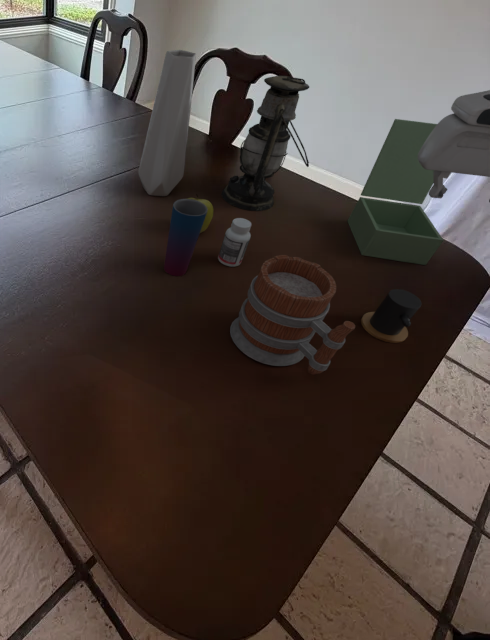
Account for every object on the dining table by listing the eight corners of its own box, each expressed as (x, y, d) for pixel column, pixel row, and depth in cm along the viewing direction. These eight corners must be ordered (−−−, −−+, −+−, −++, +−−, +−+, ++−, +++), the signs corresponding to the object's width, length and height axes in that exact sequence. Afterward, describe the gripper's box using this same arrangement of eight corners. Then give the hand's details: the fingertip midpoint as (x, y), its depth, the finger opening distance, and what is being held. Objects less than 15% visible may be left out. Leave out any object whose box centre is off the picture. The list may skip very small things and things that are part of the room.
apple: (206, 240, 104) (204, 198, 98) (175, 238, 109) (172, 198, 103) (218, 226, 109) (217, 186, 103) (188, 225, 113) (185, 186, 108)
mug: (271, 308, 89) (301, 245, 79) (343, 377, 77) (390, 313, 66) (214, 324, 85) (238, 260, 74) (280, 399, 73) (320, 335, 62)
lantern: (222, 179, 130) (256, 63, 109) (288, 190, 128) (336, 73, 106) (219, 208, 118) (257, 83, 96) (292, 221, 115) (348, 96, 93)
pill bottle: (230, 251, 103) (243, 214, 96) (246, 264, 100) (260, 226, 93) (212, 257, 101) (224, 218, 94) (227, 269, 98) (241, 231, 91)
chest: (425, 265, 104) (444, 240, 99) (361, 255, 105) (376, 230, 101) (404, 229, 115) (420, 205, 110) (347, 220, 117) (359, 196, 112)
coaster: (399, 317, 90) (401, 315, 89) (412, 346, 84) (414, 344, 83) (356, 310, 90) (358, 308, 90) (366, 338, 85) (367, 336, 84)
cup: (167, 256, 100) (180, 195, 90) (194, 267, 98) (212, 205, 87) (154, 271, 96) (167, 208, 85) (183, 282, 94) (200, 219, 83)
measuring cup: (366, 313, 89) (385, 286, 84) (395, 318, 88) (416, 291, 83) (377, 342, 83) (397, 314, 78) (408, 347, 83) (431, 320, 78)
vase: (128, 182, 126) (146, 46, 102) (165, 179, 128) (191, 46, 105) (143, 202, 118) (166, 60, 94) (182, 199, 120) (214, 60, 97)
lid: (463, 127, 100) (452, 124, 104) (396, 119, 101) (387, 115, 105) (422, 204, 110) (413, 198, 114) (361, 195, 111) (355, 189, 116)
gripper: (594, 111, 64) (522, 199, 74) (444, 96, 66) (394, 184, 76) (622, 126, 60) (542, 218, 69) (461, 109, 62) (406, 201, 72)
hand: (464, 200), depth 73 cm, fingers open, 8 cm apart
